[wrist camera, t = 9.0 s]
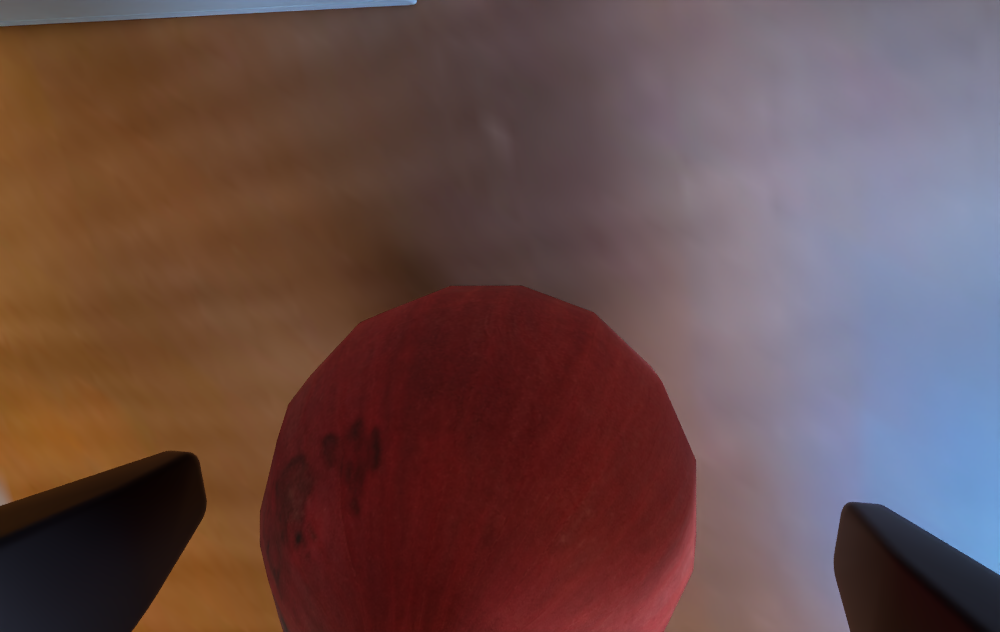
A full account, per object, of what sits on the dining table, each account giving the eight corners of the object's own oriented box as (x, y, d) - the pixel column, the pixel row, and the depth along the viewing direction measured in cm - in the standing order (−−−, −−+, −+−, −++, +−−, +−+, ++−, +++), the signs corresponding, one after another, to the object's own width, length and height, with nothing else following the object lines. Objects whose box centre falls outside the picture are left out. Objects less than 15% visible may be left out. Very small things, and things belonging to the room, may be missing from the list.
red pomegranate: (398, 508, 14) (146, 972, 6) (357, 248, 12) (-49, 468, 5) (673, 514, 13) (757, 1085, 5) (670, 230, 11) (786, 480, 4)
